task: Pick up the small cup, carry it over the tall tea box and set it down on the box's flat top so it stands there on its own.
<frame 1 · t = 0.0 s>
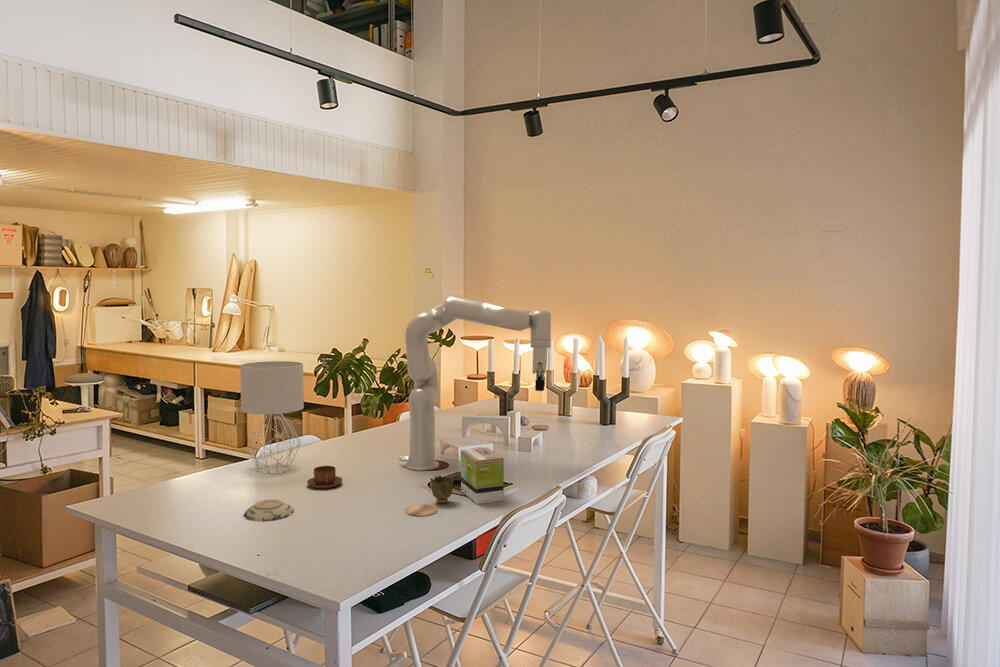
hand: (540, 388, 265), 31 cm above the table, tool pointing down, fingers open, 9 cm apart
cup and saucer: (324, 486, 246), on the table
table lamp: (273, 470, 266), on the table
decorative bowl: (268, 515, 216), on the table
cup: (442, 503, 227), on the table
tea box: (481, 497, 234), on the table
cork coaster: (421, 511, 219), on the table
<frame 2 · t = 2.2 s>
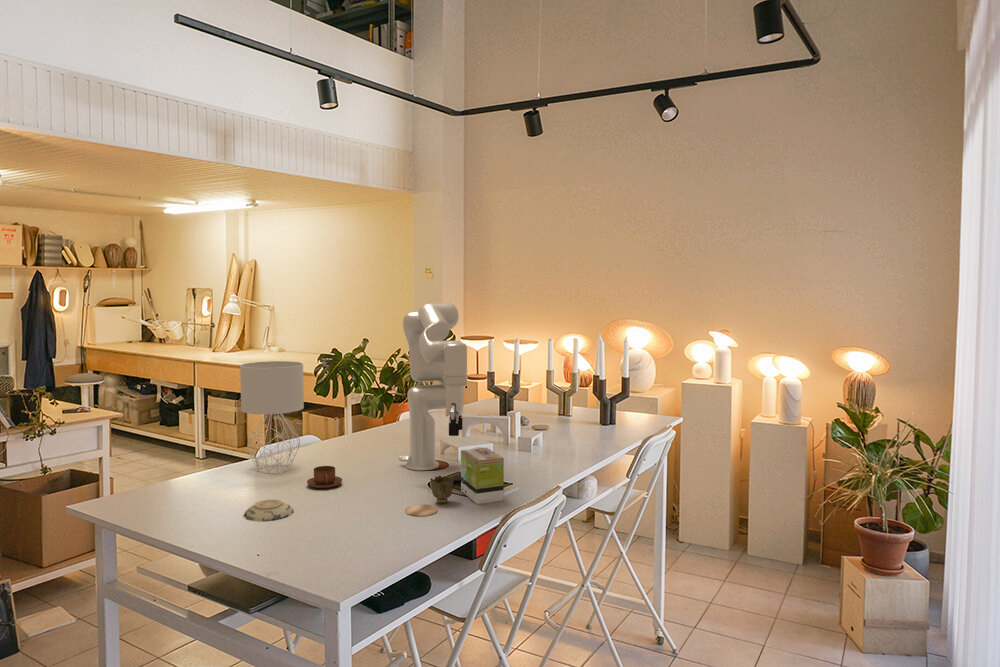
hand: (455, 432, 230), 22 cm above the table, tool pointing down, fingers open, 9 cm apart
nothing on the table moved.
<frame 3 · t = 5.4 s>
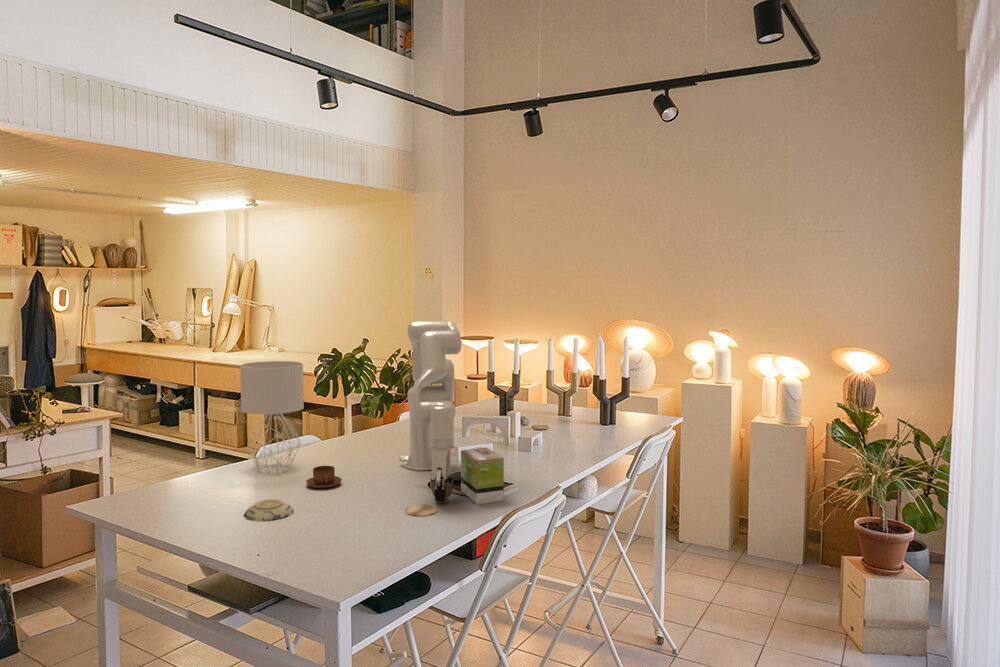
hand: (442, 497, 227), 2 cm above the table, tool pointing down, fingers closed on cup, 7 cm apart
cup: (442, 503, 227), on the table, touching gripper
everything else where it was.
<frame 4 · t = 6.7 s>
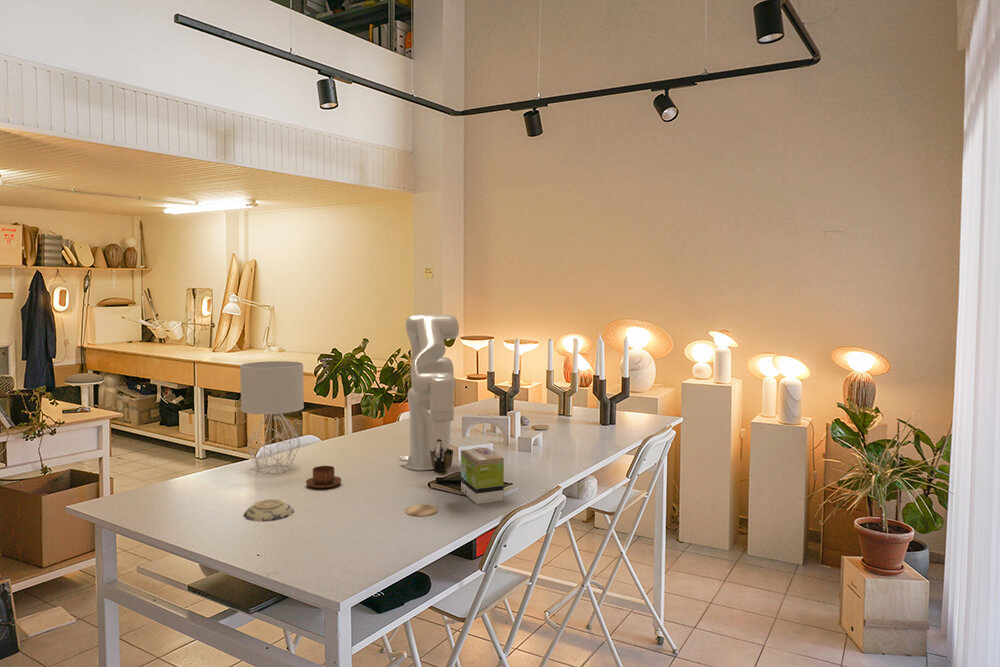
hand: (441, 468, 227), 11 cm above the table, tool pointing down, fingers closed on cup, 7 cm apart
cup: (441, 474, 227), point 9 cm above the table, touching gripper
everything else where it was.
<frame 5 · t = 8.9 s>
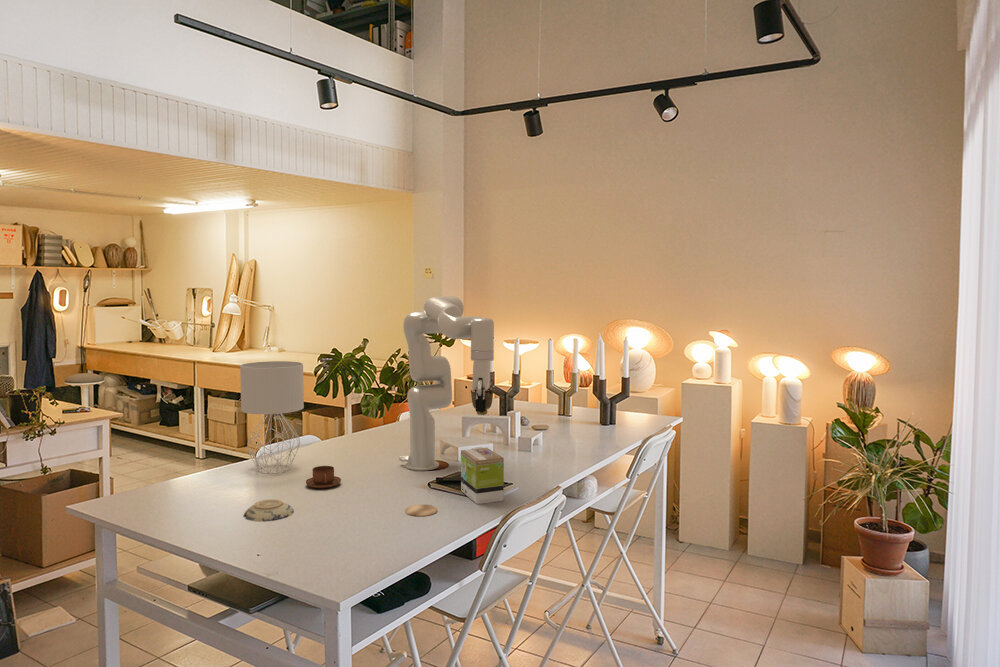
hand: (481, 408, 232), 29 cm above the table, tool pointing down, fingers closed on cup, 7 cm apart
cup: (482, 414, 232), point 27 cm above the table, touching gripper
everything else where it was.
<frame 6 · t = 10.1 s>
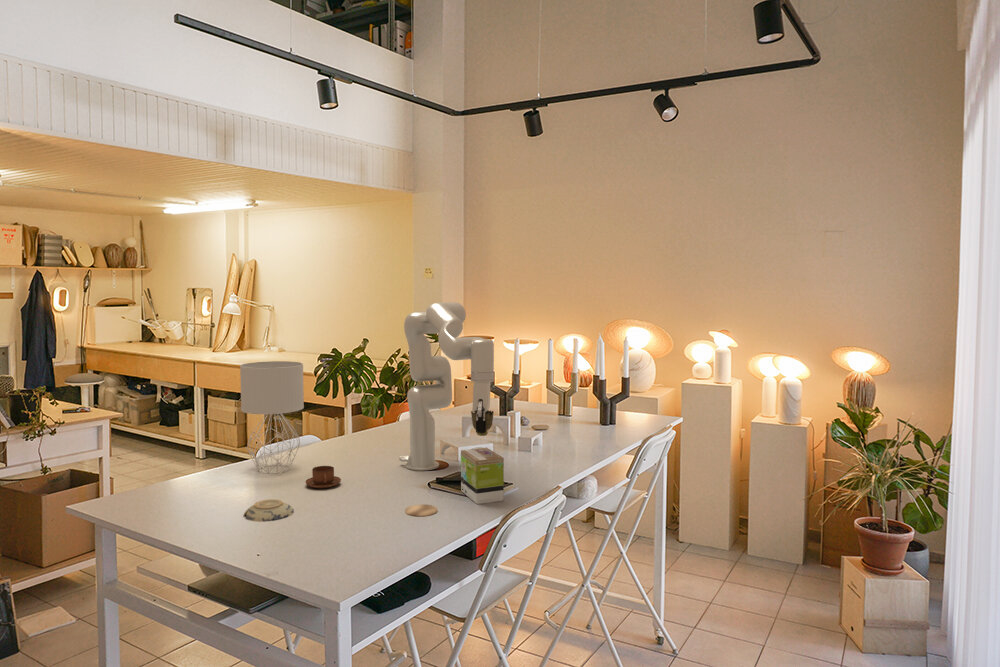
hand: (482, 429, 232), 22 cm above the table, tool pointing down, fingers closed on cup, 7 cm apart
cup: (482, 435, 232), point 20 cm above the table, touching gripper
everything else where it was.
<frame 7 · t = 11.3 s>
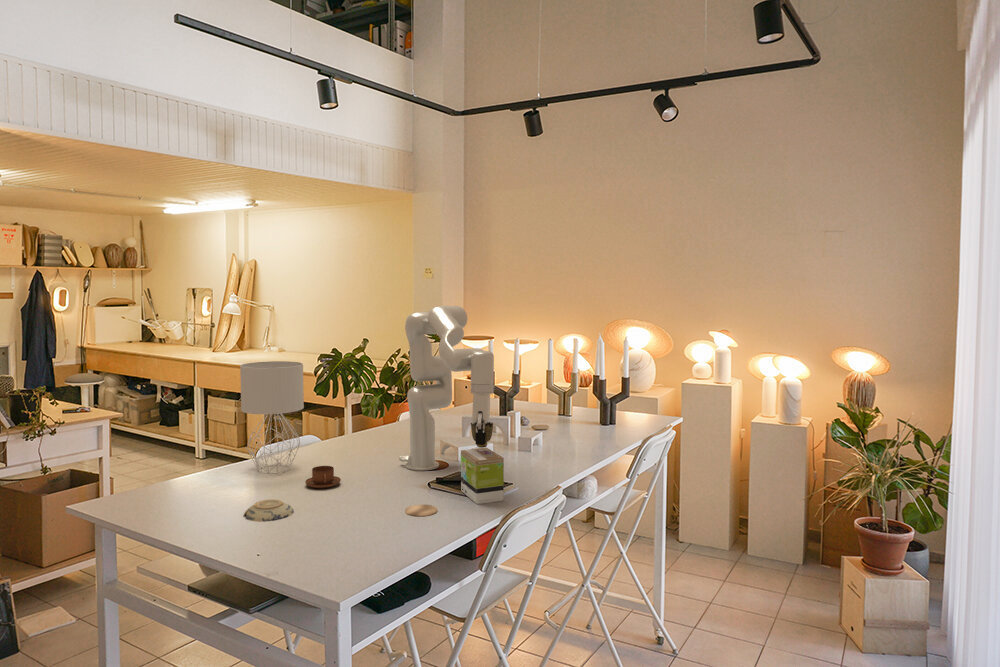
hand: (481, 441, 233), 19 cm above the table, tool pointing down, fingers closed on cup, 7 cm apart
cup: (481, 447, 233), point 17 cm above the table, touching gripper
everything else where it was.
when the fingers open (19 cm above the table, at t = 11.8 s): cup drops 2 cm, resting on tea box.
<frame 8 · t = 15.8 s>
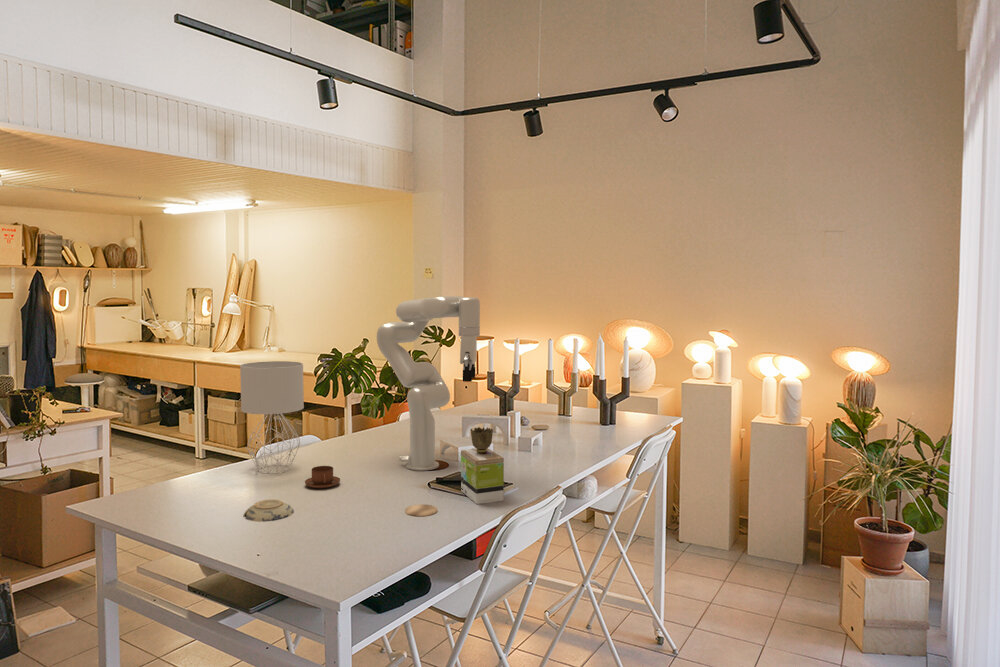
hand: (469, 379, 252), 36 cm above the table, tool pointing down, fingers open, 9 cm apart
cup: (481, 453, 233), point 14 cm above the table, touching tea box
tea box: (481, 497, 234), on the table, touching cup
everything else where it was.
at the end: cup inside the target area on the tea box (0.1 cm from its centre), point 14.8 cm above the tea box's base; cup tilted 0°; the gripper is holding nothing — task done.
